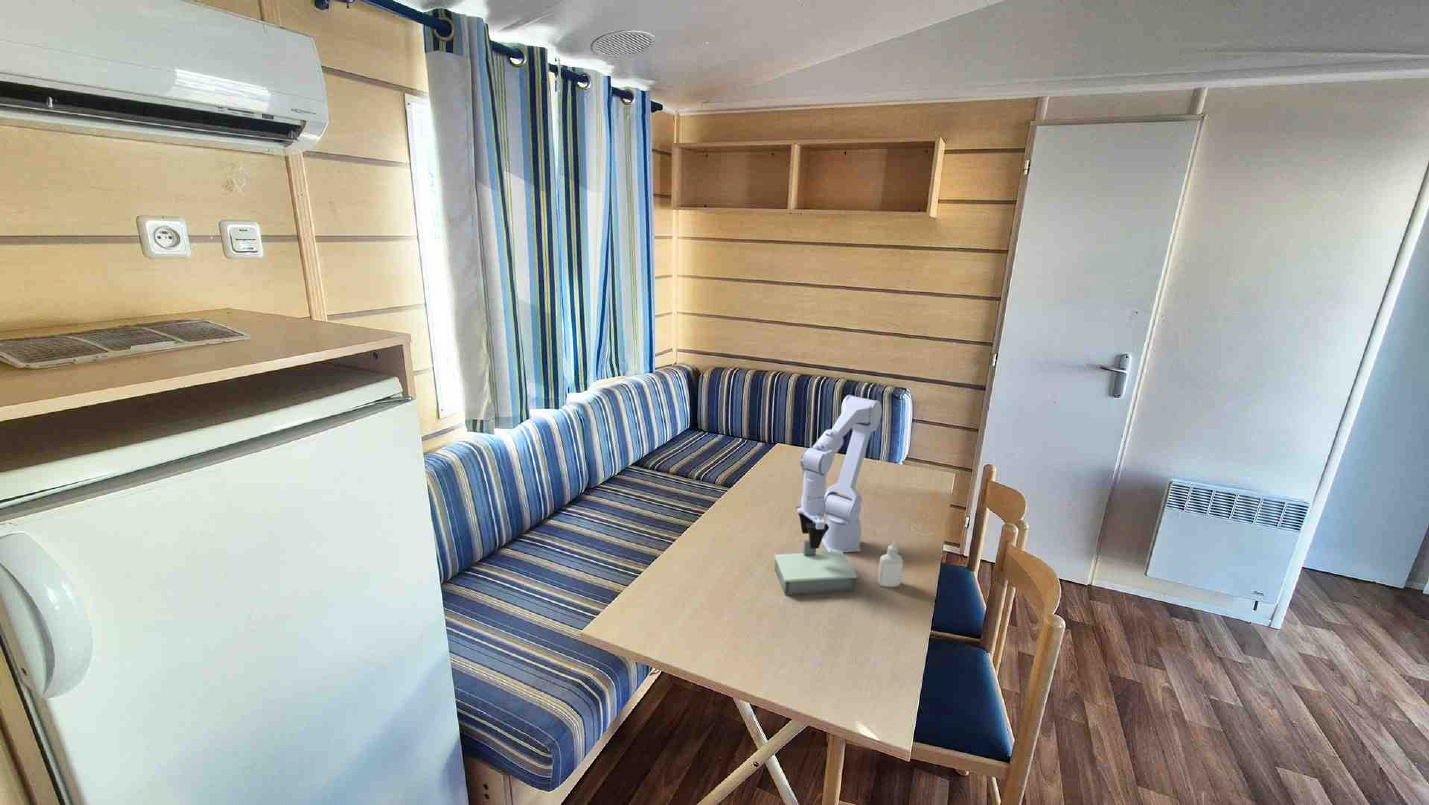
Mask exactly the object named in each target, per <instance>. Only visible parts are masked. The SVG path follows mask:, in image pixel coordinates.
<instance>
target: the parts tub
mask: <svg viewBox="0 0 1429 805" xmlns="http://www.w3.org/2000/svg"><path fill="white" fill-rule="evenodd" d="M774 562H775V563H774V564H775V566H774V570H775V571H774V572H775V573H776V577H777V579H778V581H779V583H780V586H781V589H782V591H783V594H784V595H785V596H790V595H807V594H821V593H822V594H824V593H838V592H841V593H842V592H853V591H855V585H856V578H843V579H826V580H810V581H794V582H785V581H784V578H783V576H782V574H781V571H780V569H779V566H778V564H777V562H776V561H774Z"/></svg>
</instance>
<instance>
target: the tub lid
mask: <svg viewBox="0 0 1429 805" xmlns="http://www.w3.org/2000/svg"><path fill="white" fill-rule="evenodd" d="M803 541H804V542H803V550H802V551H803V552H798V553H781V554H774V558H775V562H777V564H778V566H779V569H780V571H781V574H782V576H783V578H784V581H785V582H794V581H810V580H826V579H843V578H855V579H856V578H858V574H857V573H856V571H855V570H854V568H853V567H852V565H851V563H850V561H848V559H847V557H846V556H845V554H844V552H842V551H831V552H828V551H817V548H816V549H811V548H810V543H809V539H808V540H807V539H806V540H805V539H804V540H803ZM816 551H817V552H816Z"/></svg>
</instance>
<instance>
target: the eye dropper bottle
mask: <svg viewBox="0 0 1429 805" xmlns="http://www.w3.org/2000/svg"><path fill="white" fill-rule="evenodd" d="M898 549H899V548H898V547H897V545H896V543H895V541H894V542H891V545H888V546H887V552H886V553H885V554H882V555H881V556H880V557H879V564H878V572H877V574H878V575H877V583H878V585H879V586H881V587H884V588H895V587H899V586H900V585H901V580H902V573H903V564H904V560H903V557H902V556H901V555H899V554H898V551H899V550H898Z"/></svg>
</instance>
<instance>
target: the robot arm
mask: <svg viewBox="0 0 1429 805" xmlns="http://www.w3.org/2000/svg"><path fill="white" fill-rule="evenodd" d="M882 408H883V406H882V404H881V401H879V400H875V399H874V400H873V399H869V398H864V397H858V396H854V395H852V394H848V395H846V396H845V397H844V399H843V401H842V403H841V410H840V415H839V416H838V418H837V420H836V421H835V423H834V425H833V426H832V428H831V429H826V430H824V431H823V433H822V434H821V435H820V437H819V438H818V439H817V441H816V442H815V443H814V444H813V446H812V447H809V448H806V449H804V451H803V452H802V454H801V457H800V461H799V466H800V468H801V475H802V476H803V480H802V481H803V482H802V484H803V485H802V496H801V499H800V504H801V505H800V506H796V507H795V509H796V511H797V514H798V517H799V521H800V522H799V523H800V528H801V532H802V534H803V535H804V534H806V535H807V534H808V540H809V543H810V548H811V549H816V550H817V549H819V548H820V545H821V543H822V544H823V546H824V548H825V549H826V552H831V551H842V552H843V553H854V552H861V548H860V547H861V546H860V545H861V536H862V525H861V521H860V518H859V516H860V513H861V510H862V501H863V497H862V496H861V494H860V493H859V490H857V489H856V484H857V482H858V478H859V475H860V471H861V467H862V464H863V461H864V458H865V454H866V451H867V447H868V444H869V442H870V441H869V440H870V437H871V433H872V432H875V431H877V429H878V427H879V425H880V421H881V418H882V414H883V409H882ZM851 429H852V433H851V436H850V440H849V443H848V446H847V451H846V454H845V457H844V461H843V464H842V468H841V469H840V474H839V477H838V481H837V483H834V484H833V485H831V486H828V487H827V486H826V484H827V476H828V475H827V474H828V473H829V472H830V470H831V468H832V465H833V462H834V460H835V456H836V454H837V453H838V452H839V450H840V449H841V447H842V446H843V445H844V438H843V437H844V436H846V435H847V434H848V433H849V431H850V430H851ZM826 488H827V489H826ZM825 518H826V521H825V520H824V519H825Z"/></svg>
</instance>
